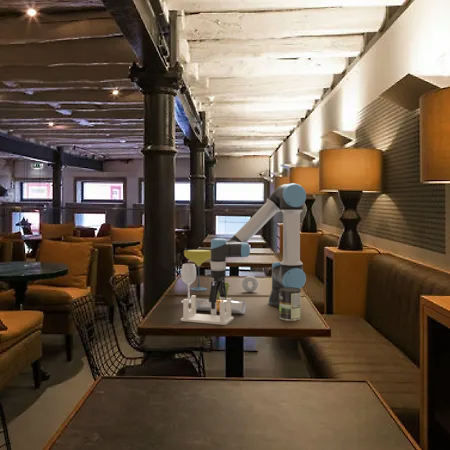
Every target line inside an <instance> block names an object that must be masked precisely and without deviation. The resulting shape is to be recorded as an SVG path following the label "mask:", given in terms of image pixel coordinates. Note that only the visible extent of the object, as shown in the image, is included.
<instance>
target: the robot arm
mask: <svg viewBox="0 0 450 450" xmlns="http://www.w3.org/2000/svg"><path fill="white" fill-rule="evenodd" d="M306 200H307V193H306V189H305V188H304V187H303V186H302V185H301V184H298V183H295V182H294V183H293V182H292V183H284V184H281V185H279V186H278V187H277V188H276V189H275V190H274V191H273V192H272V193H271V195H270V196H269V197H267V198H266V202H265V203H264V204H263V205H262V206H261V207H260V208H259V209H258V210H257V211H256V212H255V214H253V216H251V218H249V220H248V221H246V223H244V224H243V225H242V227H241V228H240V229H239V230H238V231H236V232H235V234H234V235H233V236H232V237H231V238H229V239H226V238H216V237H215V238H212V239H211V241H210V249H211V258H210V262H209V264H210V269H211V270H210V278H212V279H213V280H212V281H211V282H210V291H209V297H208V298H209V302H211V311H210V315H217V313H218V312H217V302H216V300H217V299H216V298H217V294H218V290H219V293H220V299H219V300H226V299H225V297H227V298H228V294H227V293H226V286H225V282H226V281H225V280H226V279H225V278H226V277H227V276H226V275H227V274H226V272H227V270H226V269H227V258H228V259H229V258H242V259H243V258H249V256H250V253H251V248H250V244H249V241H250V240H251V239H252V238H253V237H254V236H255V235H256V234H257V233H259V231H260V230H261V229H262V228H263V227H264V225H266V224H267V223H268V222H269V221H270V220H271V219H272V217H274V216H275V215H276V213H280V212H281V213H282V260H281V261H277V262H276V261H275V262H273V263H272V264H271V292H270V295H269V296H268V305H269V306H274V307H279V289H280V288H283V287H295V288H299V289H301V288H303V287H304V286H305V283H306V282H307V276H306V273H305V271H304V264H303V262H302V261H301V213H302V212H303V211H304V204H305V202H306ZM226 294H227V295H226Z"/></svg>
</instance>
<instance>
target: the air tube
mask: <svg viewBox="0 0 450 450" xmlns="http://www.w3.org/2000/svg"><path fill="white" fill-rule="evenodd" d="M216 302H217V313H220V302H225V311H226V299H225V300H220V299H216ZM246 309H247V304H246V302H245V301H235V300H231V314H239V315H245V313H246ZM196 311H202V312H211V302H209V299H208V298H197V297H196Z"/></svg>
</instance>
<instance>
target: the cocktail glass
mask: <svg viewBox="0 0 450 450" xmlns="http://www.w3.org/2000/svg"><path fill="white" fill-rule="evenodd" d="M183 255H184V257H185V258H186V259H187V260H189V261H191V262H193V263H194V264H195V266H197V268H198V269H197V271H198V273H197V275H198V276H197V278H198V279H197V286H196V287H191V288H190V291H192V292H204V291H208V288H207V287H201V284H200V266H202V264H204V263H205V262H206V261H208V260H211V248H187V249H184V252H183Z"/></svg>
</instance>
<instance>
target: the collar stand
mask: <svg viewBox="0 0 450 450" xmlns="http://www.w3.org/2000/svg"><path fill="white" fill-rule="evenodd" d="M196 298H197V295H193V294H192V295H190V299H191V303H190V304H189V299H187V298H184V299H183V300H182V301H183V303H182V305H183V306H182V307H183V308H182V309H183V311H182V312H183V313H182V314H183V316H182V317H181V318H180V321H181V322H189V323H201V324H209V325H212V324H213V325H222V326H224V325H225V326H226V325H228V324H229V323H230V322H232V321H233V320H234V318H235V317H234V316H232V313H231V301H232V297H227V298H226V299H225V300H226V311H225V302H220V312H219V315H211V314H206V313H205V314H204V313H197V310H196ZM189 305H190V308H189Z"/></svg>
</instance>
